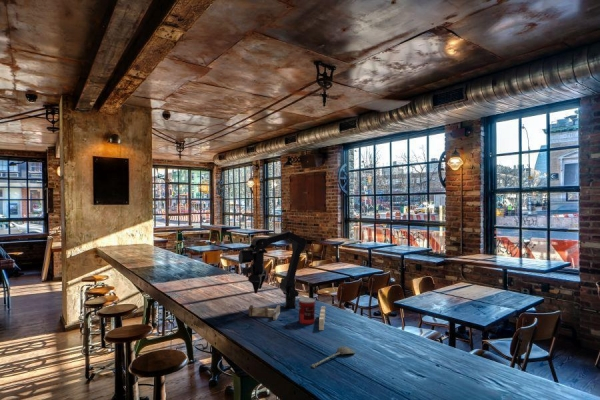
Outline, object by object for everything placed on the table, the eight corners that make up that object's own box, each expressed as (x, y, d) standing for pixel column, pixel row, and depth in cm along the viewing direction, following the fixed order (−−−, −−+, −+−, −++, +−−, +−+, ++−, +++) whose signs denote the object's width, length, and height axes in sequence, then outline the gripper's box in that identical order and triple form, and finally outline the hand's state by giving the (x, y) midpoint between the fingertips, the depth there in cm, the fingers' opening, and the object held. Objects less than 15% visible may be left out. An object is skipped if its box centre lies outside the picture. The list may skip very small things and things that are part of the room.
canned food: (303, 318, 178) (304, 296, 178) (317, 321, 174) (317, 299, 174) (295, 322, 172) (295, 300, 172) (309, 325, 167) (310, 302, 168)
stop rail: (321, 316, 182) (321, 306, 182) (325, 316, 182) (325, 306, 182) (319, 329, 162) (319, 319, 162) (323, 330, 162) (323, 319, 162)
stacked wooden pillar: (246, 318, 176) (246, 309, 176) (252, 311, 188) (252, 303, 188) (275, 320, 175) (276, 311, 175) (280, 312, 187) (280, 304, 187)
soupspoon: (358, 355, 138) (345, 351, 143) (358, 347, 138) (345, 342, 143) (319, 371, 123) (306, 366, 128) (319, 361, 123) (306, 356, 128)
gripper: (248, 258, 198) (247, 286, 198) (238, 264, 180) (238, 294, 180) (267, 259, 197) (267, 287, 197) (260, 265, 178) (259, 295, 178)
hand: (257, 291), depth 188 cm, fingers open, 9 cm apart
